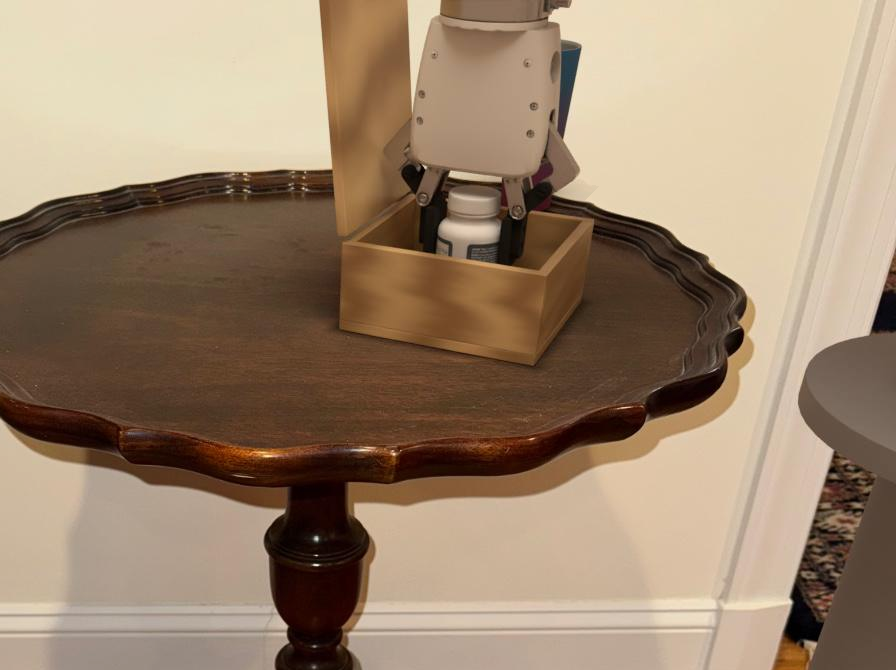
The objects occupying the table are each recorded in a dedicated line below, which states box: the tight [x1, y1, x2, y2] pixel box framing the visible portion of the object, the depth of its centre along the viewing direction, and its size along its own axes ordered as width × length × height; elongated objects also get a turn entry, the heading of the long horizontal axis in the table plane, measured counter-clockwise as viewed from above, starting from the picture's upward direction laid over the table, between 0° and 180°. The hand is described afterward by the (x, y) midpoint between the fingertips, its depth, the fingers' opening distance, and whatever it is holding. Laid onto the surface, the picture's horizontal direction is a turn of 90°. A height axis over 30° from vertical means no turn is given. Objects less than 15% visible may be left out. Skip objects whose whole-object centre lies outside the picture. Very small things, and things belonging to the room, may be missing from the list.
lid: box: [318, 0, 413, 237], centre depth 85 cm, size 16×15×1 cm
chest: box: [338, 193, 595, 367], centre depth 89 cm, size 16×15×7 cm
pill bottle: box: [436, 184, 502, 264], centre depth 88 cm, size 5×5×9 cm
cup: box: [500, 38, 583, 212], centre depth 111 cm, size 7×7×15 cm
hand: (469, 257), depth 88 cm, fingers closed on pill bottle, 5 cm apart
